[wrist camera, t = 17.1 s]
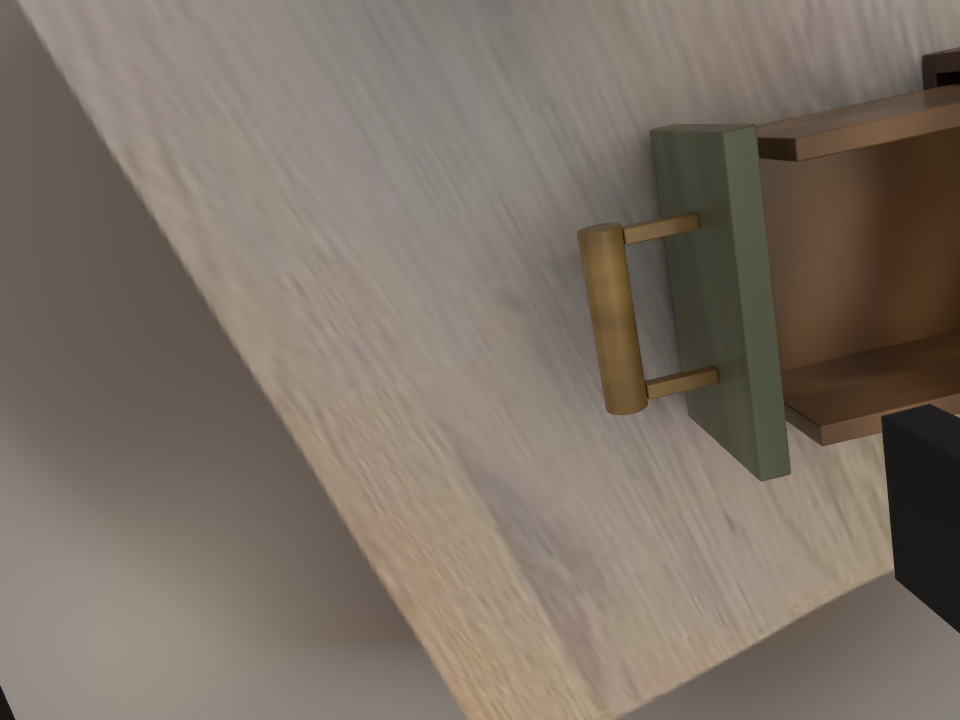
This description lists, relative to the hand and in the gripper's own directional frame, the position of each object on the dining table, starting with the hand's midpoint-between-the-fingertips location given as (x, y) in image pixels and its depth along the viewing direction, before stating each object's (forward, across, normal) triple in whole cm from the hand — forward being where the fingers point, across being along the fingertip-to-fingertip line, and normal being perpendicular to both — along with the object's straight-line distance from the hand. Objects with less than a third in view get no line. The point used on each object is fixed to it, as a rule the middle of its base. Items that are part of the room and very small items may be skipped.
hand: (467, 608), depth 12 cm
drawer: (+23, +16, -2) cm, 28 cm away
